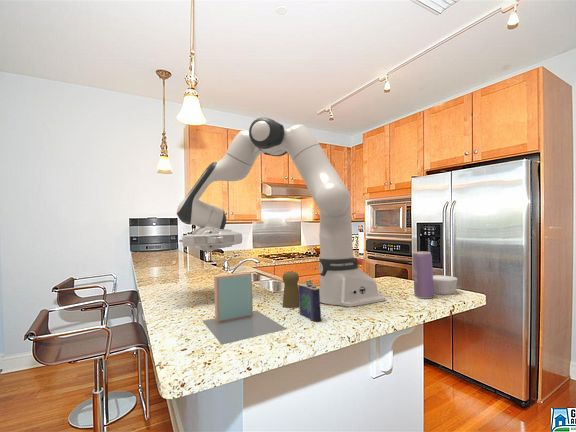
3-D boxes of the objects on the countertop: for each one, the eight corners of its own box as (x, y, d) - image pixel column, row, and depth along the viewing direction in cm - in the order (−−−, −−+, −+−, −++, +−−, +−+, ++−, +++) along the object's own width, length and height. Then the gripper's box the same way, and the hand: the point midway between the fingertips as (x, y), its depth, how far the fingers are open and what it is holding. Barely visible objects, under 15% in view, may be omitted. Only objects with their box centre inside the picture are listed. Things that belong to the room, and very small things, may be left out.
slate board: (256, 312, 84) (256, 310, 84) (287, 331, 67) (287, 328, 67) (202, 322, 76) (202, 320, 76) (221, 347, 60) (221, 344, 60)
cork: (299, 310, 84) (298, 273, 85) (280, 310, 86) (279, 273, 86) (302, 304, 90) (301, 270, 91) (284, 304, 91) (283, 270, 92)
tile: (250, 314, 80) (248, 272, 81) (253, 316, 78) (251, 273, 79) (215, 320, 76) (214, 276, 76) (217, 323, 73) (216, 277, 74)
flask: (297, 315, 79) (296, 277, 80) (306, 314, 81) (305, 276, 81) (315, 325, 71) (313, 282, 71) (324, 323, 72) (323, 281, 73)
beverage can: (437, 298, 91) (434, 252, 92) (419, 299, 91) (416, 253, 92) (428, 294, 97) (426, 251, 98) (411, 295, 97) (409, 251, 98)
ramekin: (434, 287, 108) (433, 273, 108) (465, 292, 99) (464, 277, 99) (416, 291, 102) (416, 277, 102) (448, 297, 93) (447, 281, 93)
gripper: (178, 231, 98) (184, 231, 86) (234, 229, 108) (247, 229, 96) (178, 249, 97) (184, 251, 85) (235, 246, 107) (248, 247, 95)
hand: (218, 239), depth 91 cm, fingers closed
